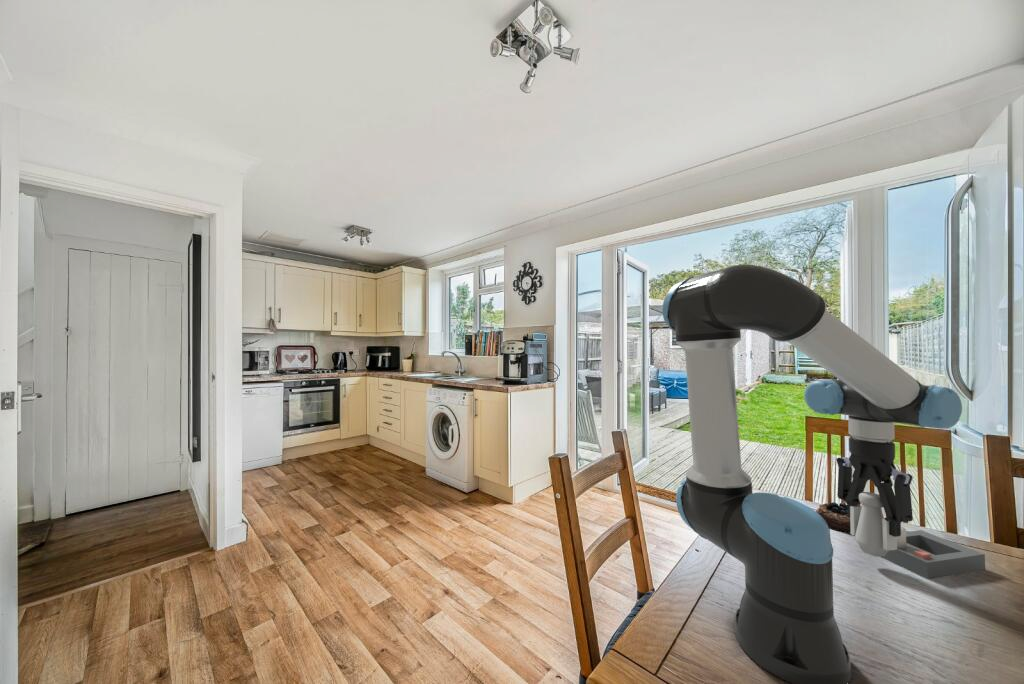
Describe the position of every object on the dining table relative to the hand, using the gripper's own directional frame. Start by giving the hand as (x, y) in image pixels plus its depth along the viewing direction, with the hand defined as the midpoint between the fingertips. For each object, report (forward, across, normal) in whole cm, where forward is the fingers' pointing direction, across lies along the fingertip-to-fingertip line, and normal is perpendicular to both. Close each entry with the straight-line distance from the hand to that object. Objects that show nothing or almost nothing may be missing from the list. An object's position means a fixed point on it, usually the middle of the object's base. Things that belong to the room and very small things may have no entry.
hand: (872, 541), depth 83 cm
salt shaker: (+3, 0, 0) cm, 3 cm away
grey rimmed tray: (+5, 0, -14) cm, 15 cm away
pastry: (+6, +17, -14) cm, 23 cm away
